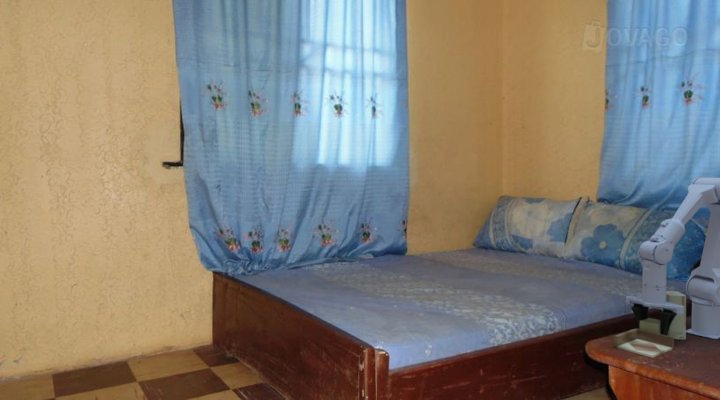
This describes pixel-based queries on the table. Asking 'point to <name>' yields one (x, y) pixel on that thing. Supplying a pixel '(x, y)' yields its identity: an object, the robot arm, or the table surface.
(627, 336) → the arena
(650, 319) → the olive cube
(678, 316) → the skincare box
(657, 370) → the table surface
